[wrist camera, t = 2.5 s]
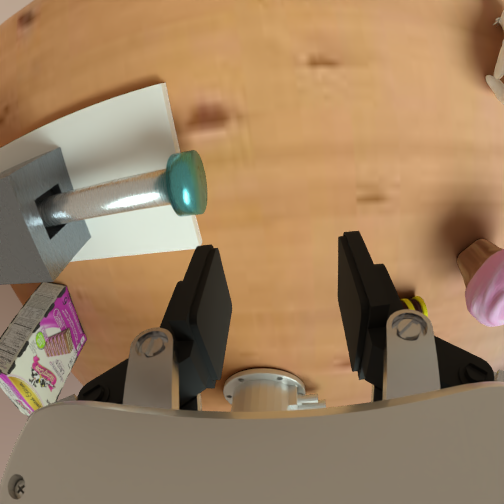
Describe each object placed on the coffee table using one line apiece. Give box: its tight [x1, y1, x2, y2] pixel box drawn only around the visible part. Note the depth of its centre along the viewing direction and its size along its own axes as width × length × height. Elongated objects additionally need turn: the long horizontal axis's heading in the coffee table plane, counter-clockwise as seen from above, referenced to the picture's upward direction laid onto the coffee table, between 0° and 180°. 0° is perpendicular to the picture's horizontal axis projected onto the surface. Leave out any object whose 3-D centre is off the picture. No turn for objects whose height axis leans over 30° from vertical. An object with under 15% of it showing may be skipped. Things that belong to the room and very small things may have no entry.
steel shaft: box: [35, 150, 207, 228], centre depth 24 cm, size 23×5×5 cm, turn 99°
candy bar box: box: [0, 282, 87, 416], centre depth 32 cm, size 11×5×16 cm, turn 177°
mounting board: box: [0, 83, 202, 262], centre depth 28 cm, size 26×16×1 cm, turn 99°
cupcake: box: [457, 239, 504, 327], centre depth 26 cm, size 9×9×10 cm
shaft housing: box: [0, 147, 91, 285], centre depth 25 cm, size 12×10×8 cm
